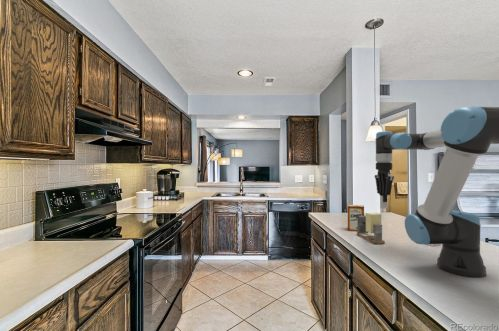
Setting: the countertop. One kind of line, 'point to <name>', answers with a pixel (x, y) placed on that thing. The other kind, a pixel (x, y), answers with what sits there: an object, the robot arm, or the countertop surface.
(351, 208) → the baking soda box
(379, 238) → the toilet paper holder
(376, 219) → the pale yellow block
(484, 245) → the countertop surface
